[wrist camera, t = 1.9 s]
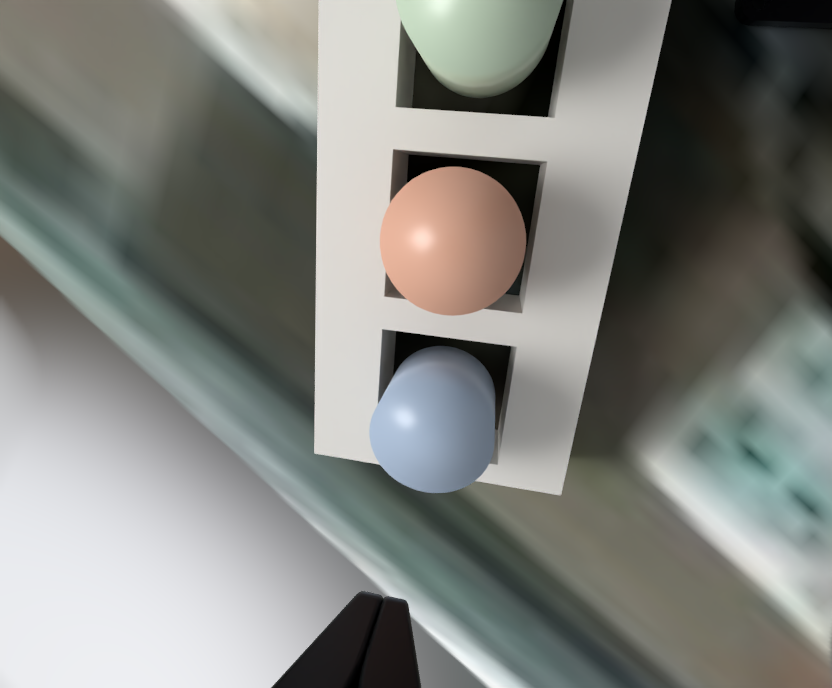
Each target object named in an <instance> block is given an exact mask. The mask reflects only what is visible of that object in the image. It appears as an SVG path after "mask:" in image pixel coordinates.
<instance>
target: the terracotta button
mask: <svg viewBox="0 0 832 688" xmlns="http://www.w3.org/2000/svg"><path fill="white" fill-rule="evenodd" d="M525 250H526V231H525V225H524V221H523V218H522V215H521V212H520V210H519V208H518V206H517V204H516V202H515V201H514V199H513V198H512V196H511V195H510V194H509V192H508V191H507V190H506V189H505V188H504V187H503V186H502V185H501V184H500V183H498V182H497V181H496V180H494V179H493V178H491V177H490V176H488V175H486V174H484V173H482V172H479V171H476V170H473V169H470V168H464V167H443V168H437V169H434V170H430V171H427V172H425V173H423V174H420V175H419V176H417V177H415V178H414V179H412V180H411V181H410V182H408V183H407V184H406V185H405V186H403V188H402V189H401V190H400V191H399V192H398V193H397V194H396V195H395V197H394V198H393V200H392V201H391V203H390V205H389V206H388V208H387V210H386V213H385V215H384V218H383V222H382V226H381V232H380V251H381V258H382V261H383V265H384V268H385V270H386V273H387V275H388V277H389V278H390V280H391V282H392V283H393V285H394V286H395V287H396V289H397V290H398V291H399V292H400V293H401V294H402V295H403V296H404V297H405V298H406V299H407V300H409V301H410V302H411V303H413V304H414V305H416V306H417V307H419V308H422V309H424V310H426V311H429V312H432V313H435V314H440V315H450V316H455V315H465V314H470V313H473V312H476V311H479V310H481V309H484V308H486V307H488V306H489V305H491V304H492V303H494V302H496V301H497V300H498V299H499V298H500V297H502V296H503V295H504V294H505V293H506V291H507V290H508V289H509V288H510V287H511V285H512V284H513V282H514V281H515V279H516V278H517V276H518V274H519V272H520V269H521V266H522V264H523V260H524V256H525Z"/></svg>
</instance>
